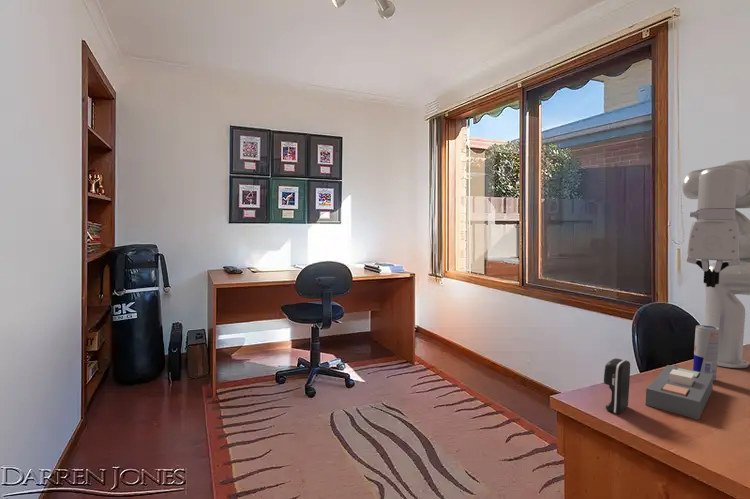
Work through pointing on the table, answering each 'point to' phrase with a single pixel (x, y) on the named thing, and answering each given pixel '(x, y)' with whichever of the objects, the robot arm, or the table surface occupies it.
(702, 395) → the frame
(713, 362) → the beverage can
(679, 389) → the terracotta button
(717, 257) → the robot arm
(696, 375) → the sage button
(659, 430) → the table surface
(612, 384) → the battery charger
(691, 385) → the cream button
